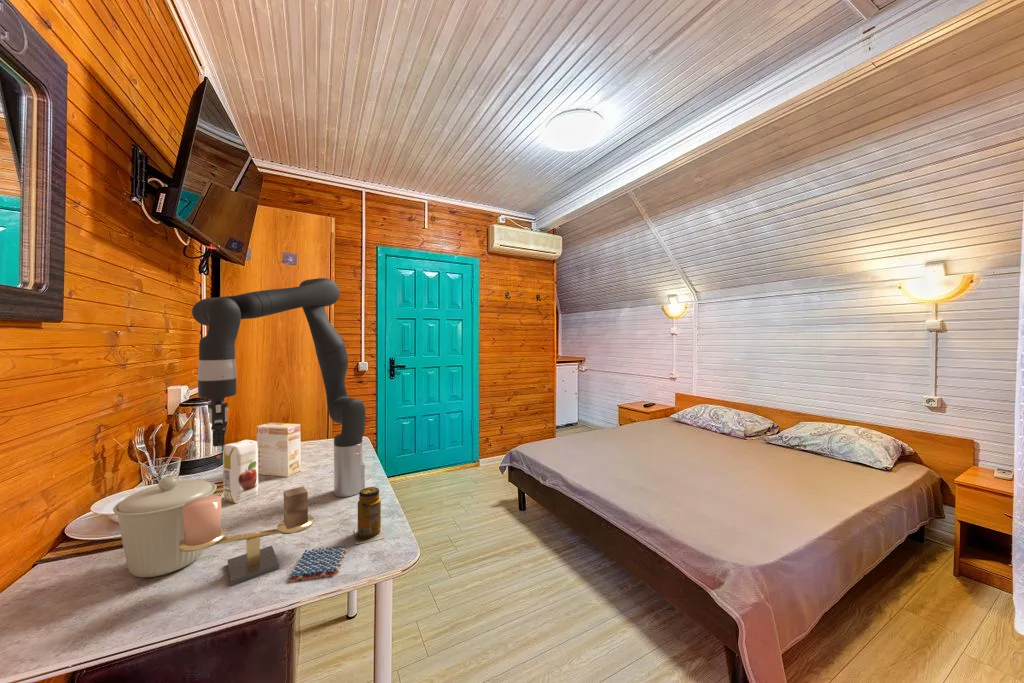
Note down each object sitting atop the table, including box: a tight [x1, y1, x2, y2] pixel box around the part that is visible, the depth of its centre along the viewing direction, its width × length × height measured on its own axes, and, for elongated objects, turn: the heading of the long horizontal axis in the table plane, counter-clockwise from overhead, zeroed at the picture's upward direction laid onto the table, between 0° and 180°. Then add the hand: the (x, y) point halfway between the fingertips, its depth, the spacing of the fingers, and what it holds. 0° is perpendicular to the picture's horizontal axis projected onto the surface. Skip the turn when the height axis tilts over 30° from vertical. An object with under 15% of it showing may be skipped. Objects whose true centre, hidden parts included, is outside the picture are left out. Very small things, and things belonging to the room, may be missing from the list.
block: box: [283, 485, 309, 529], centre depth 93 cm, size 4×4×8 cm
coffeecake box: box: [256, 422, 302, 478], centre depth 147 cm, size 15×7×20 cm, turn 77°
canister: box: [112, 475, 217, 578], centre depth 88 cm, size 18×18×21 cm
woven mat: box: [289, 545, 348, 582], centre depth 87 cm, size 10×11×2 cm
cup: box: [183, 495, 223, 546], centre depth 81 cm, size 6×6×8 cm
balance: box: [179, 514, 315, 587], centre depth 87 cm, size 26×10×10 cm, turn 132°
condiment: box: [353, 486, 386, 545], centre depth 101 cm, size 7×8×12 cm
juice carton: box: [222, 439, 259, 504], centre depth 124 cm, size 8×9×19 cm
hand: (218, 441), depth 91 cm, fingers open, 8 cm apart
